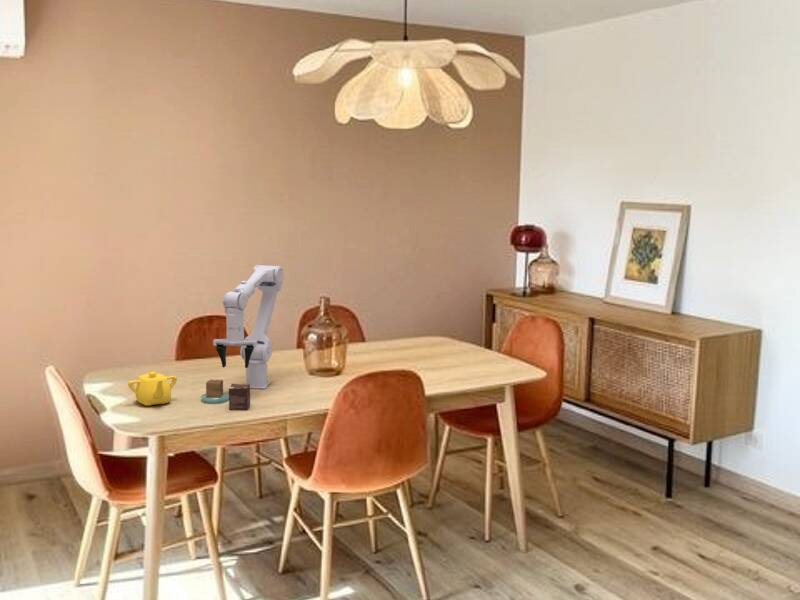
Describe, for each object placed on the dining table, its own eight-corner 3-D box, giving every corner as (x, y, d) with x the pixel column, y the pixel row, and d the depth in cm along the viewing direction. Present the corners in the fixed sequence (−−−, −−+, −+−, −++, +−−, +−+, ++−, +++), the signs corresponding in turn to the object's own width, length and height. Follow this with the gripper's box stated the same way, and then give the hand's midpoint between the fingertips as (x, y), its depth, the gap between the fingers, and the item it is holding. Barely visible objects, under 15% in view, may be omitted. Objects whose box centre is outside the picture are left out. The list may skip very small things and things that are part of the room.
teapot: (183, 399, 274) (182, 369, 273) (162, 410, 262) (161, 378, 260) (147, 396, 278) (146, 366, 276) (125, 406, 266) (124, 375, 264)
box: (250, 405, 269) (250, 383, 268) (247, 410, 263) (247, 388, 262) (231, 405, 269) (231, 383, 268) (228, 410, 263) (228, 388, 262)
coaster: (205, 397, 279) (205, 391, 278) (231, 398, 278) (231, 392, 278) (198, 404, 270) (198, 399, 269) (225, 405, 270) (225, 399, 269)
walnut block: (210, 393, 276) (209, 379, 275) (223, 394, 276) (223, 379, 275) (206, 397, 271) (206, 382, 271) (219, 398, 271) (219, 383, 270)
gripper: (210, 328, 271) (211, 368, 273) (254, 330, 271) (254, 370, 273) (216, 325, 278) (216, 364, 280) (258, 326, 278) (258, 365, 280)
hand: (235, 366), depth 277 cm, fingers open, 7 cm apart
